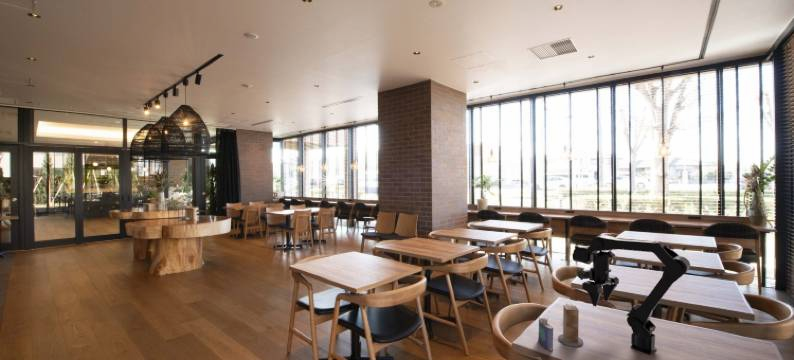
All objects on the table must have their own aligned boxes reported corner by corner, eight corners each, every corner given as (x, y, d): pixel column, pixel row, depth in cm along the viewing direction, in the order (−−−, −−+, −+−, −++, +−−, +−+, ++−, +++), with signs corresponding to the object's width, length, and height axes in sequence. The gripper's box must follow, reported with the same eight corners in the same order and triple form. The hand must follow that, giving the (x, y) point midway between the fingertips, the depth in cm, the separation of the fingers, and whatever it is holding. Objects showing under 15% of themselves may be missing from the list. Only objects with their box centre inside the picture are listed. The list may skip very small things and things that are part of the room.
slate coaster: (587, 342, 138) (587, 340, 138) (575, 349, 133) (575, 347, 133) (565, 333, 145) (565, 331, 145) (553, 339, 140) (553, 338, 140)
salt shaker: (574, 317, 160) (574, 304, 160) (570, 319, 158) (570, 306, 158) (567, 315, 162) (567, 302, 162) (563, 317, 161) (564, 304, 160)
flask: (554, 351, 132) (554, 323, 131) (546, 351, 132) (546, 323, 131) (543, 339, 141) (543, 313, 141) (536, 339, 141) (536, 313, 140)
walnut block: (575, 337, 141) (575, 305, 140) (578, 343, 136) (578, 310, 136) (563, 336, 142) (563, 304, 141) (565, 341, 137) (566, 309, 137)
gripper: (592, 258, 155) (591, 292, 156) (569, 265, 144) (568, 302, 145) (619, 264, 146) (619, 300, 146) (597, 272, 135) (596, 311, 136)
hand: (600, 303), depth 144 cm, fingers open, 9 cm apart
